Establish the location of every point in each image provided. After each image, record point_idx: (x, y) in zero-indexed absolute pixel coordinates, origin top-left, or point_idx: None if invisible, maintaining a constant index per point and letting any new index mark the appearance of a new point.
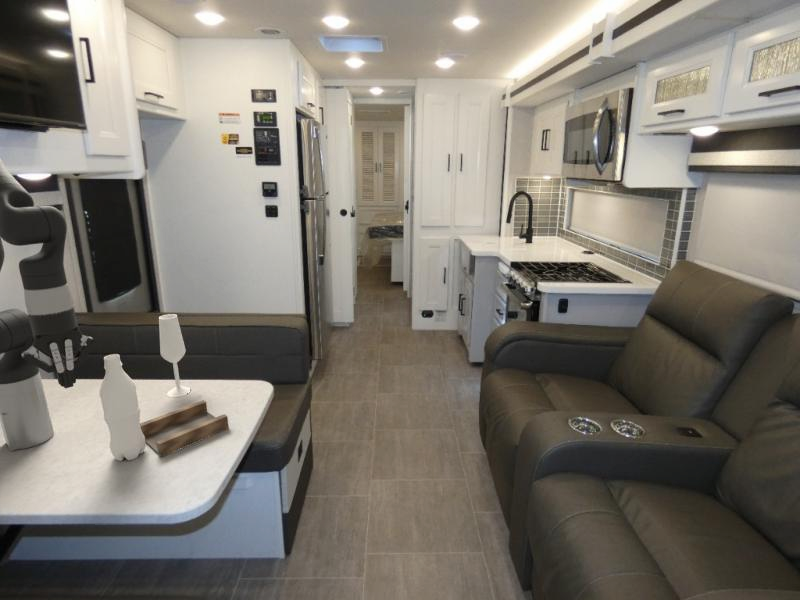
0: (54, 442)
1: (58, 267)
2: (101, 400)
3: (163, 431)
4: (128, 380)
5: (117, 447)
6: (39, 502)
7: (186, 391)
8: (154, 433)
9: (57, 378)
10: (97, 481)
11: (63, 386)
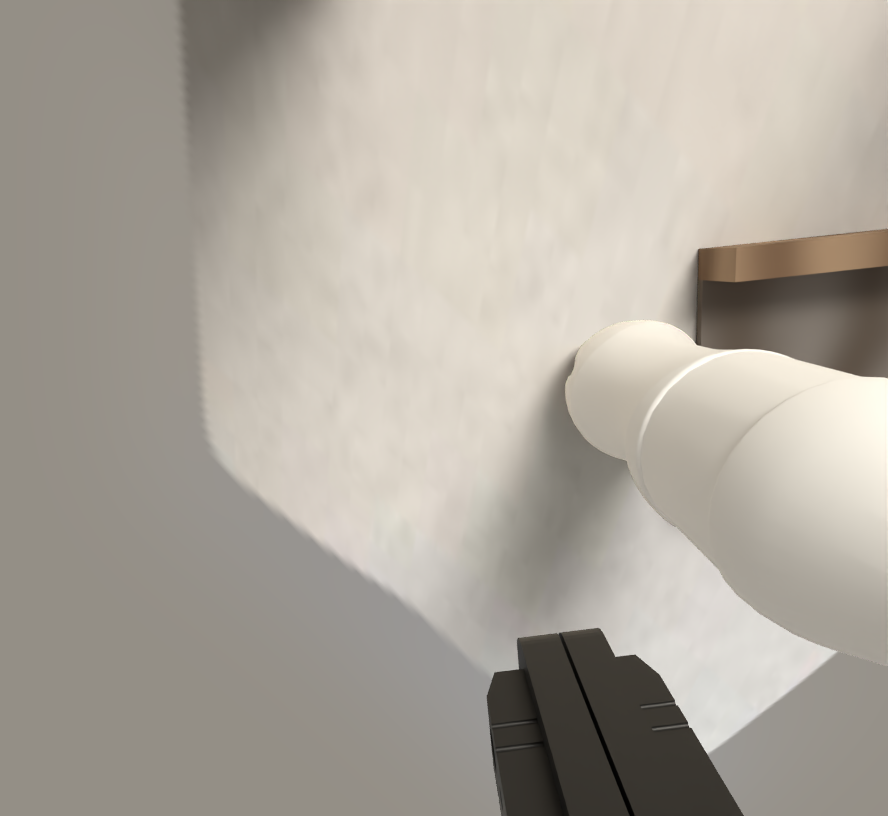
0: None
1: None
2: (696, 486)
3: (788, 294)
4: None
5: (594, 436)
6: (301, 480)
7: None
8: (754, 284)
9: (497, 761)
10: (477, 481)
11: (518, 650)
